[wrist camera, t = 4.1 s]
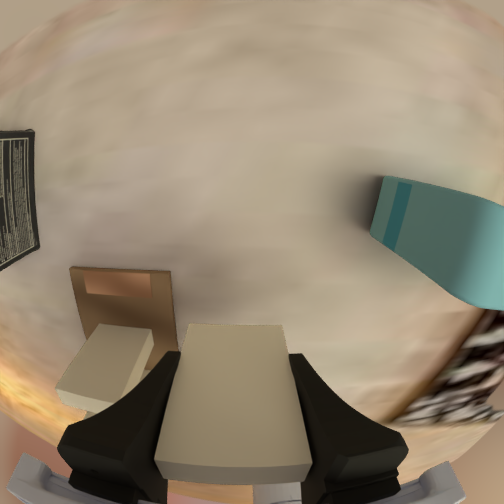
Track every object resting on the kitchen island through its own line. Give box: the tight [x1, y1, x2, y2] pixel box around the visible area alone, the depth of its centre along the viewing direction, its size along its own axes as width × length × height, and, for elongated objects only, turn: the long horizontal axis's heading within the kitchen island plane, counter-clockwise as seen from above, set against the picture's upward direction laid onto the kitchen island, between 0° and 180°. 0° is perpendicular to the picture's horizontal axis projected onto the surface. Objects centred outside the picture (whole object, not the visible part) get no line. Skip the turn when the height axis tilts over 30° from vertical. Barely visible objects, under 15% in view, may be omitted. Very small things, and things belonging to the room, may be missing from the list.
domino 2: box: [154, 323, 312, 485], centre depth 11 cm, size 2×5×8 cm, turn 88°
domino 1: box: [55, 324, 154, 413], centre depth 18 cm, size 2×5×8 cm, turn 88°
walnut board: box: [69, 267, 179, 370], centre depth 24 cm, size 22×9×1 cm, turn 178°
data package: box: [370, 176, 504, 310], centre depth 14 cm, size 12×4×12 cm, turn 78°
